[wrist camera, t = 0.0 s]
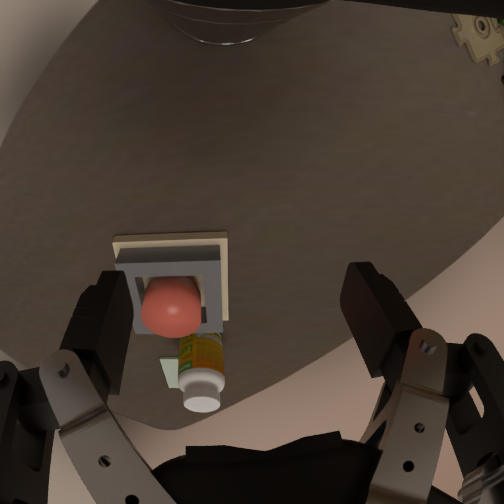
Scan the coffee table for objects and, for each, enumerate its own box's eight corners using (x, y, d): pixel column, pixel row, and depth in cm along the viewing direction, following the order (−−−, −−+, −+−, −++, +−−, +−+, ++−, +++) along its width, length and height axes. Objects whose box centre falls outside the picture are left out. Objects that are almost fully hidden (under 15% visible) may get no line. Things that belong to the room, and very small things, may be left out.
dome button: (140, 274, 28) (135, 296, 25) (199, 273, 29) (198, 295, 26) (150, 316, 31) (147, 337, 29) (203, 315, 32) (203, 337, 29)
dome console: (115, 235, 28) (105, 257, 25) (226, 231, 30) (228, 253, 27) (135, 314, 35) (131, 337, 32) (227, 312, 36) (229, 336, 33)
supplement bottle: (188, 319, 36) (186, 389, 28) (229, 330, 38) (235, 398, 30) (174, 344, 38) (170, 410, 30) (211, 354, 40) (215, 417, 32)
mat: (159, 356, 40) (159, 359, 39) (217, 355, 41) (217, 358, 40) (169, 385, 44) (169, 387, 44) (220, 384, 45) (220, 386, 45)
